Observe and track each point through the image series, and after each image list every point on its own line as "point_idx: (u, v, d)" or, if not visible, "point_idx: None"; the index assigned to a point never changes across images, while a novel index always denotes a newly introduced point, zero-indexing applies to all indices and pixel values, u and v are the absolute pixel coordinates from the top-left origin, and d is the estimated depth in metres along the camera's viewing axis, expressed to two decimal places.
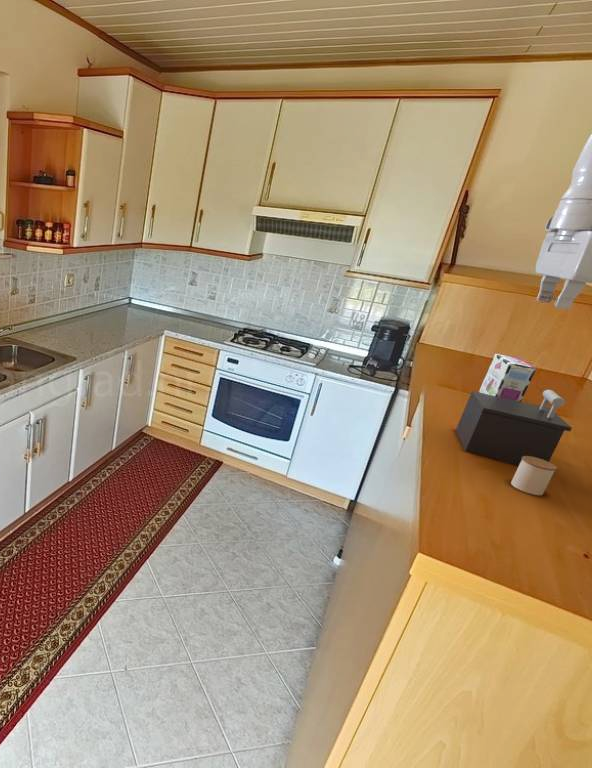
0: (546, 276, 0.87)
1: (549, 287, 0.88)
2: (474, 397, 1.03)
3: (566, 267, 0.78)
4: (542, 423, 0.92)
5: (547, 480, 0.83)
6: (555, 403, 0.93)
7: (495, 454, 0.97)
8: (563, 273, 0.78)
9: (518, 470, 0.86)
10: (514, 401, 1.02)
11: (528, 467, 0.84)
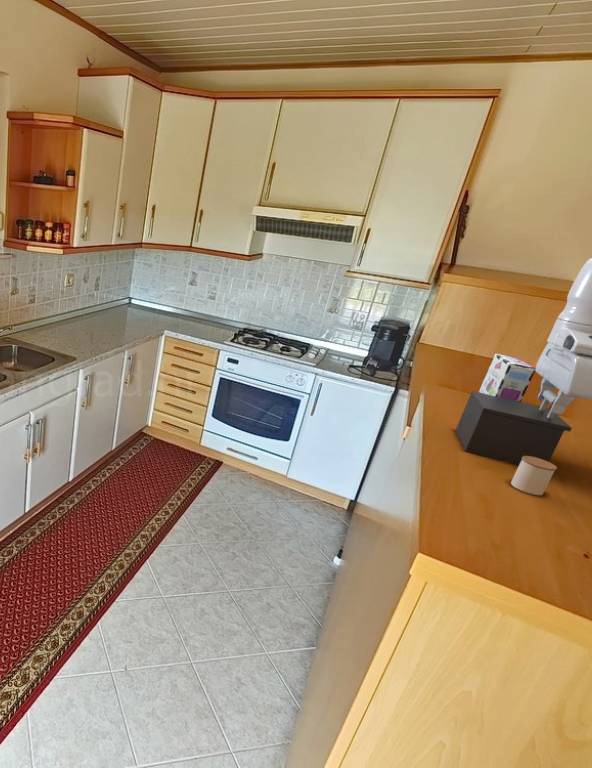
0: None
1: None
2: (474, 397, 1.03)
3: None
4: (542, 423, 0.92)
5: (547, 480, 0.83)
6: None
7: (495, 454, 0.97)
8: None
9: (518, 470, 0.86)
10: (514, 401, 1.02)
11: (528, 467, 0.84)
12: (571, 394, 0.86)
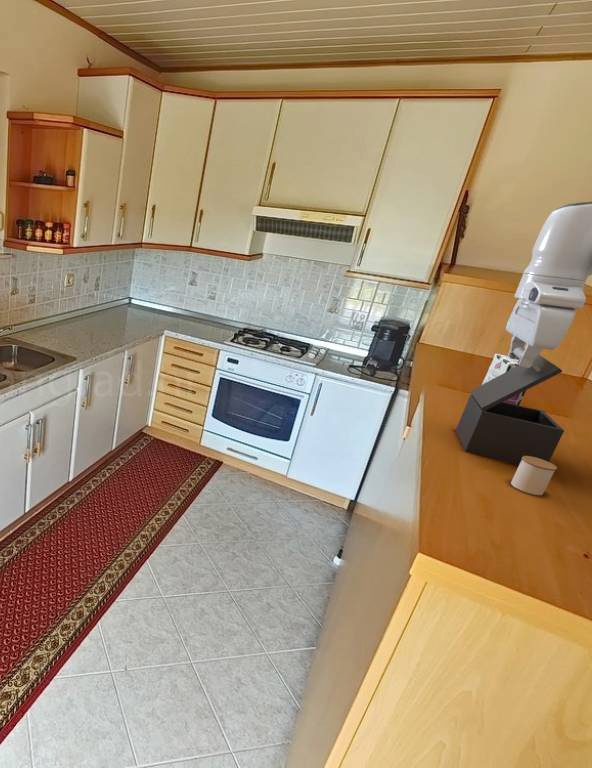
0: None
1: None
2: None
3: None
4: (536, 383, 0.91)
5: (547, 480, 0.83)
6: None
7: (495, 454, 0.97)
8: None
9: (518, 470, 0.86)
10: (507, 373, 1.02)
11: (528, 467, 0.84)
12: (536, 345, 0.87)
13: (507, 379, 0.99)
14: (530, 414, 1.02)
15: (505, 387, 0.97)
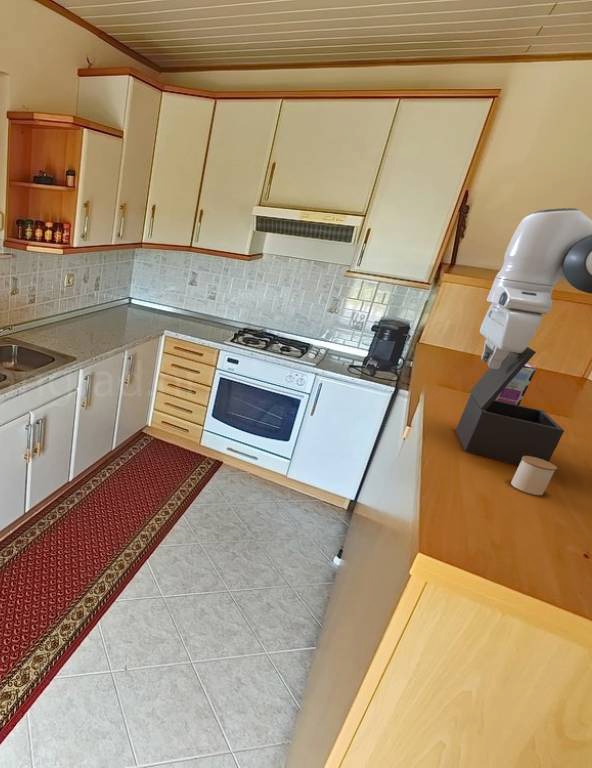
0: None
1: None
2: None
3: None
4: (517, 370, 0.92)
5: (547, 480, 0.83)
6: None
7: (495, 454, 0.97)
8: None
9: (518, 470, 0.86)
10: None
11: (528, 467, 0.84)
12: (504, 348, 0.89)
13: (495, 371, 1.00)
14: (530, 414, 1.02)
15: (495, 381, 0.97)
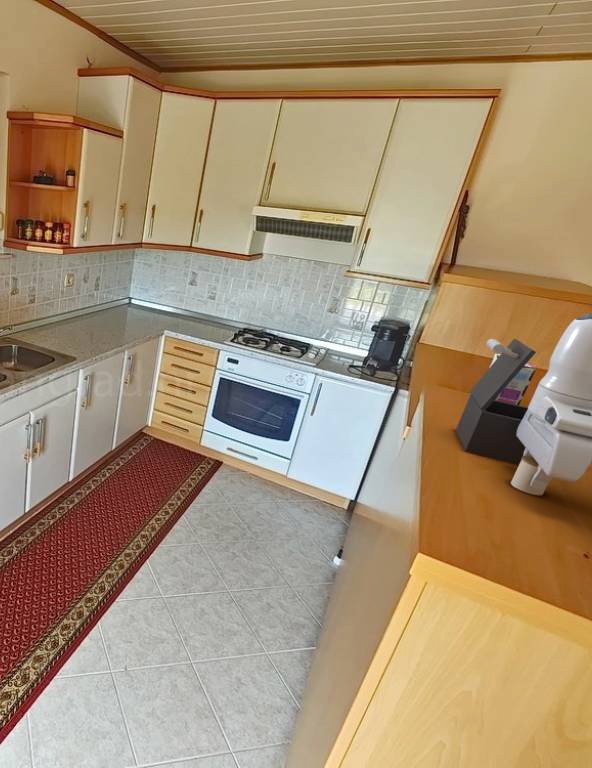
0: None
1: None
2: None
3: None
4: (517, 370, 0.92)
5: None
6: (499, 350, 0.95)
7: (495, 454, 0.97)
8: None
9: (518, 470, 0.86)
10: (494, 365, 1.02)
11: (528, 467, 0.84)
12: (553, 475, 0.76)
13: (495, 371, 1.00)
14: None
15: (495, 381, 0.97)
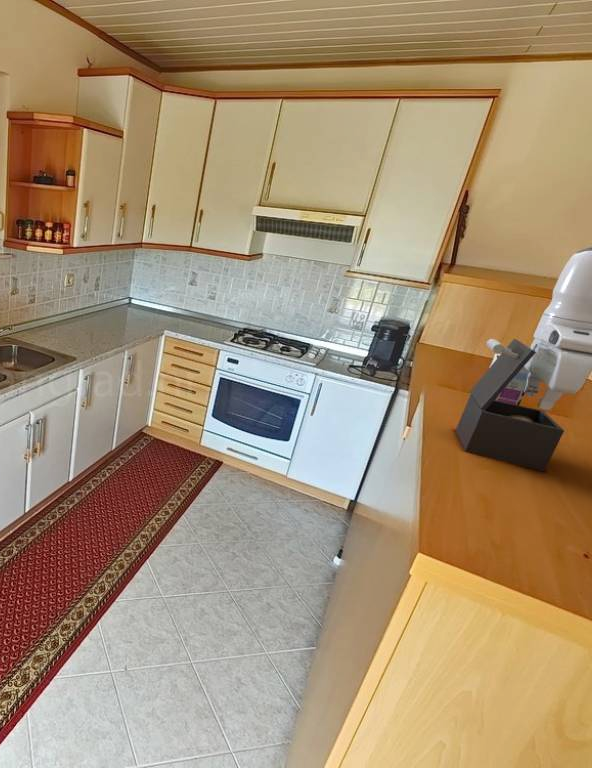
0: None
1: None
2: None
3: None
4: (517, 370, 0.92)
5: None
6: (499, 350, 0.95)
7: (495, 454, 0.97)
8: None
9: None
10: (494, 365, 1.02)
11: None
12: (556, 389, 0.87)
13: (495, 371, 1.00)
14: (530, 414, 1.02)
15: (495, 381, 0.97)
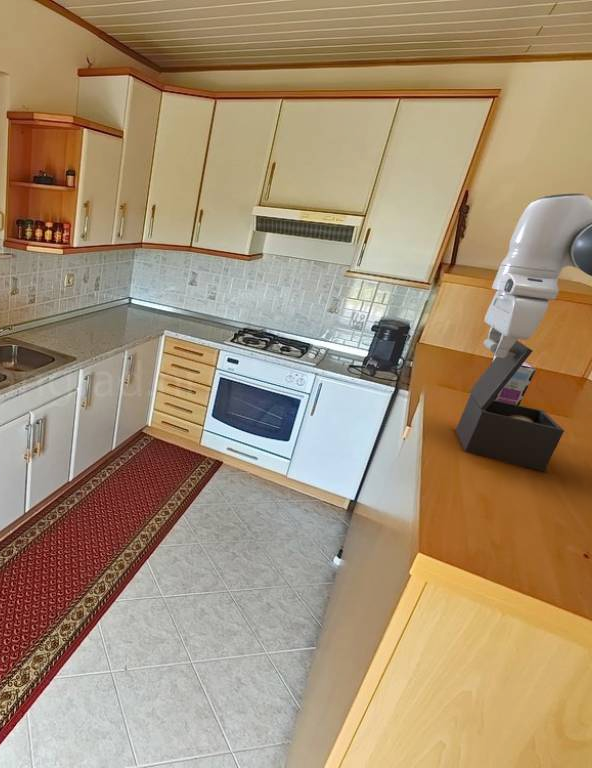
0: None
1: None
2: None
3: None
4: (515, 369, 0.92)
5: None
6: None
7: (495, 454, 0.97)
8: None
9: None
10: (492, 364, 1.02)
11: None
12: (510, 335, 0.88)
13: (493, 371, 1.00)
14: (530, 414, 1.02)
15: (493, 380, 0.97)
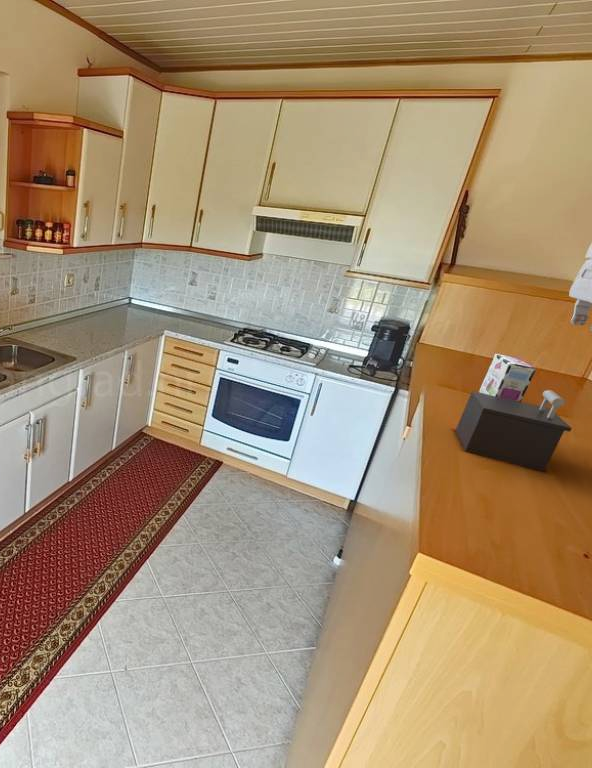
0: None
1: None
2: (474, 397, 1.03)
3: None
4: (542, 423, 0.92)
5: None
6: (555, 403, 0.93)
7: (495, 454, 0.97)
8: None
9: None
10: (514, 401, 1.02)
11: None
12: None
13: (514, 405, 1.00)
14: None
15: (511, 408, 0.97)
